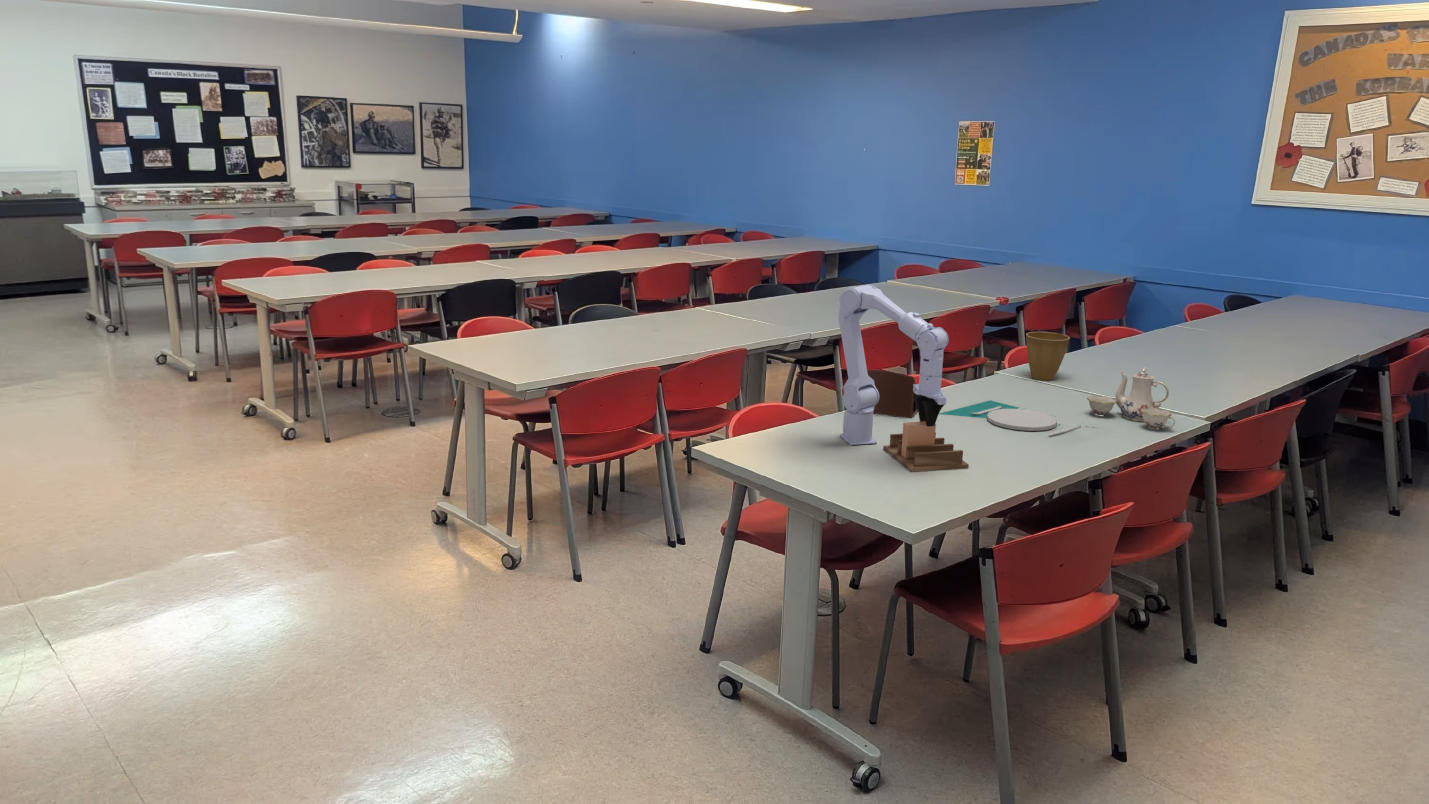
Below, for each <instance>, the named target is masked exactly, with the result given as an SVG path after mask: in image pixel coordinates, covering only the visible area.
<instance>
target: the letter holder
mask: <svg viewBox="0 0 1429 804" xmlns="http://www.w3.org/2000/svg"><path fill="white" fill-rule="evenodd" d="M867 373H868V376H869V377H870V378H872V379H873V380H874V384H875V387H876V389H877V390H878V392H879V401H878V403H877V404H876V405H875V407H874V410H873V415H875V414H876V415H882V416H889V417H897V418H904V419H913V418H914V417H915V416H916V415H917V413H918V409H917V405H916V403H915V401H914V399H913V396H918V395H917V394H915V393H914V391H913V384H917V383H916V379H915V377H914V376H911V375H908V374H904V373H900V372H893V371H890V370H889V371H887V370H880V369H879V370H878V369H876V370H875V369H867Z"/></svg>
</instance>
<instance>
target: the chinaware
mask: <svg viewBox="0 0 1429 804" xmlns="http://www.w3.org/2000/svg"><path fill="white" fill-rule="evenodd" d="M1120 374H1121V377H1122V379H1121V381H1120V384H1119V386H1118V388H1117V390H1116V392H1115V399H1113V398H1112V397H1110V396H1102V397H1101V396H1099V395H1091V396H1090V397H1087V398H1086V400H1087V401H1088V402H1089V403H1088V404H1089V408H1090V409H1091V410H1092V412H1093V413H1094V415H1095V414H1097V415H1104V414H1105V415H1106V414H1108V413H1110V412H1111V411H1112V409H1113V408H1114V406H1115V404H1116V406H1117V408H1119V409H1120V411H1121V414H1122V418H1123V417H1124V419H1125V418H1126V419H1125V420H1129V421H1131V420H1132V422H1137V423H1138V422H1139V423H1145V425H1147V426H1146V428H1147V429H1150V430H1157V431H1158V430H1160V429H1163V430H1164V429H1165V427H1167V428H1172V427H1174V426H1175V424H1176V421H1175V419H1174V417H1172V413H1171V412H1170V411H1169V410H1167V409H1161V410H1160V409H1159V408H1160V407H1161V406H1162V403H1163V402H1165V401H1166V400H1167V399H1168V398H1169V395H1170V389H1169V388H1168V386H1167V384H1165V383H1164V382H1162V381H1159V380H1156V381H1155V380H1154V379H1155V376H1153V375H1150V373H1149V372H1148V371H1147V369H1146V367H1142V369H1141V371H1140V370H1139V371H1138V372H1137V373H1133V374H1132V375H1131V377H1132V385H1131V390H1130V392H1129V394H1128V396H1126V395H1125V392H1126V388H1127V383H1128V376H1127V374H1126V373H1125V372H1121V371H1120ZM1158 384H1160V385H1161V386H1163V387H1164V388H1165V390H1166V395H1165V397H1164V398H1163V399H1161V400H1153V396H1152V386H1153V387H1154V388H1157V387H1158ZM1168 419H1169V420H1171V419H1172V420H1173V424H1172V425H1171V426H1170V425H1166V423H1167V422H1168Z"/></svg>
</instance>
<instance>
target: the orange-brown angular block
mask: <svg viewBox="0 0 1429 804" xmlns="http://www.w3.org/2000/svg"><path fill="white" fill-rule="evenodd" d="M936 427H937V424H936V423H935V426H929V427H928V426H926V421H921V422H920V421H912V422H909V421H908V422H903V423H902V433H903V435H902V451H901V455H902V456H904V457H905V458H906V446H921V445H934V443H935V432H936Z"/></svg>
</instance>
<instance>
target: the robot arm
mask: <svg viewBox="0 0 1429 804" xmlns="http://www.w3.org/2000/svg"><path fill="white" fill-rule="evenodd" d="M838 300H839V305H840V306H839V311H838V316H837V317H838V325H839V329H840V336H841V342H842V347H843V354H844V359H845V365H846V371H847V377H848V379H846V382H845V383H844V385H843V386H842V387H843V396H842V404H843V406H844V408H845V411H844V414H843V423H842V425H843V427H842V433H839V436H840V437H841V438H842V439H843V440H844V441H845V442H846V443H848V444H849V445H850V446H853V445H854V446H856V445H859V446H860V445H871V444H872V445H873V444H877V443H878V441H877V440H875V439H874V438H873V427H874V426H873V424H874V413H873V410H874V407H875V405H876V404H877V403H878V401H879V392H878V390H877V389H876V387H875V384H874V380H873V379H872V378H870V377H869V376H868V373H867V370H868V368H867V361H866V355H865V349H864V343H863V337H862V333H861V331H862V330H861V326H860V325H861V323H860V320H861V318H862V317H863V316H864V315H865V313H866V312H868V311H869V310H876V311H878V312H880V313H881V314H882V315H885V316H886V317H887V318H890V320H893V322H895V323H897V324H898V325H897V326H898V329H899V331H901V332H902V333H903V334H905V335H906V336H908V337H909V338H910V339H912V340H913V341H914V342H916V344H917V347H918V350H919V352H920V354H919V355H920V361H919V363H920V365H919V376H918V377H919V378H918V379H919V380H918V383H916V384H913V391H914V393H915V394H917V395H918V396H913V399H914V401H915V403H916V405H917V409H918V412H917V413H918V419H919V422H921V421H926V426H928V427H929V426H935V424H936V422H937V420H938V416H939V415H940V414H939V413H941V410H942V409H943V408H944V406H945V405H947V397H946V396H945V394H944V393H943V391H942V381H943V380H942V379H943V378H942V377H943V367H944V366H943V363H944V351H945V349H946V347H947V346H948V345H949V339H950V338H949V334H948V333H947V331H946V330H944V328H943V327H934V324H932V323H929V322H927V321H926V320H924V319H923V318H922V317H920V316H921V315H920V313H918V312H913V311H909V312H906V311H905V310H904V309H902V308H901V307H899V306H898V305H897V304H896V303H894V301H892V300H891V299H889V297H887V296H886V294H884V293H883V291H882V290H881V289H879V288H878V287H876V286H875V285H874V284H870V283H869V284H865V285H860V286H858V285H857V286H849V287H846V288H845V289H844V290H843V291H842V293H841V294H840V295H839V297H838Z"/></svg>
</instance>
